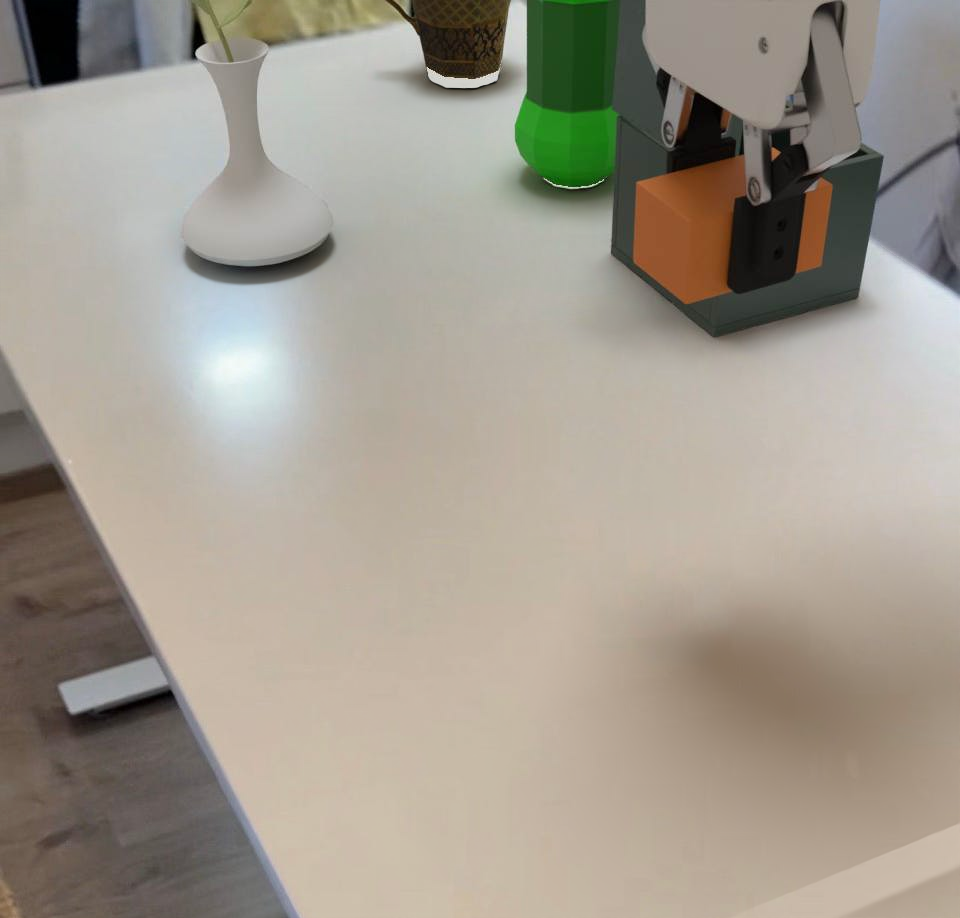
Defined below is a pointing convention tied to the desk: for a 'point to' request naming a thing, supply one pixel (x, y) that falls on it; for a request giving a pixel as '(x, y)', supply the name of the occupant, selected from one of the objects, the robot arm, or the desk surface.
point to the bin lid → (644, 78)
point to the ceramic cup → (460, 35)
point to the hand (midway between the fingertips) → (727, 255)
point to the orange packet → (707, 227)
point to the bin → (799, 294)
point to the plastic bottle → (570, 91)
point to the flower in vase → (249, 173)
